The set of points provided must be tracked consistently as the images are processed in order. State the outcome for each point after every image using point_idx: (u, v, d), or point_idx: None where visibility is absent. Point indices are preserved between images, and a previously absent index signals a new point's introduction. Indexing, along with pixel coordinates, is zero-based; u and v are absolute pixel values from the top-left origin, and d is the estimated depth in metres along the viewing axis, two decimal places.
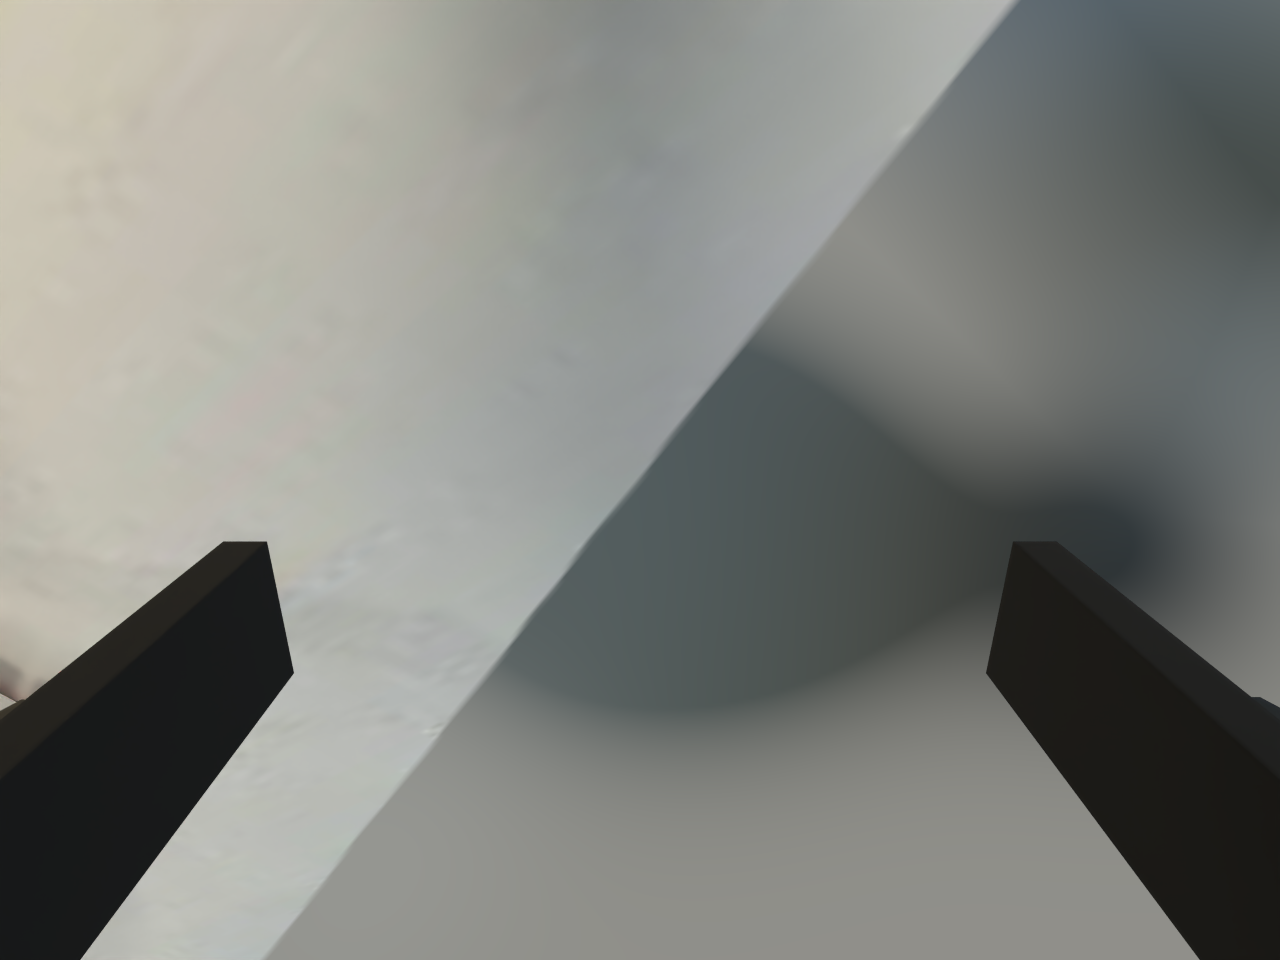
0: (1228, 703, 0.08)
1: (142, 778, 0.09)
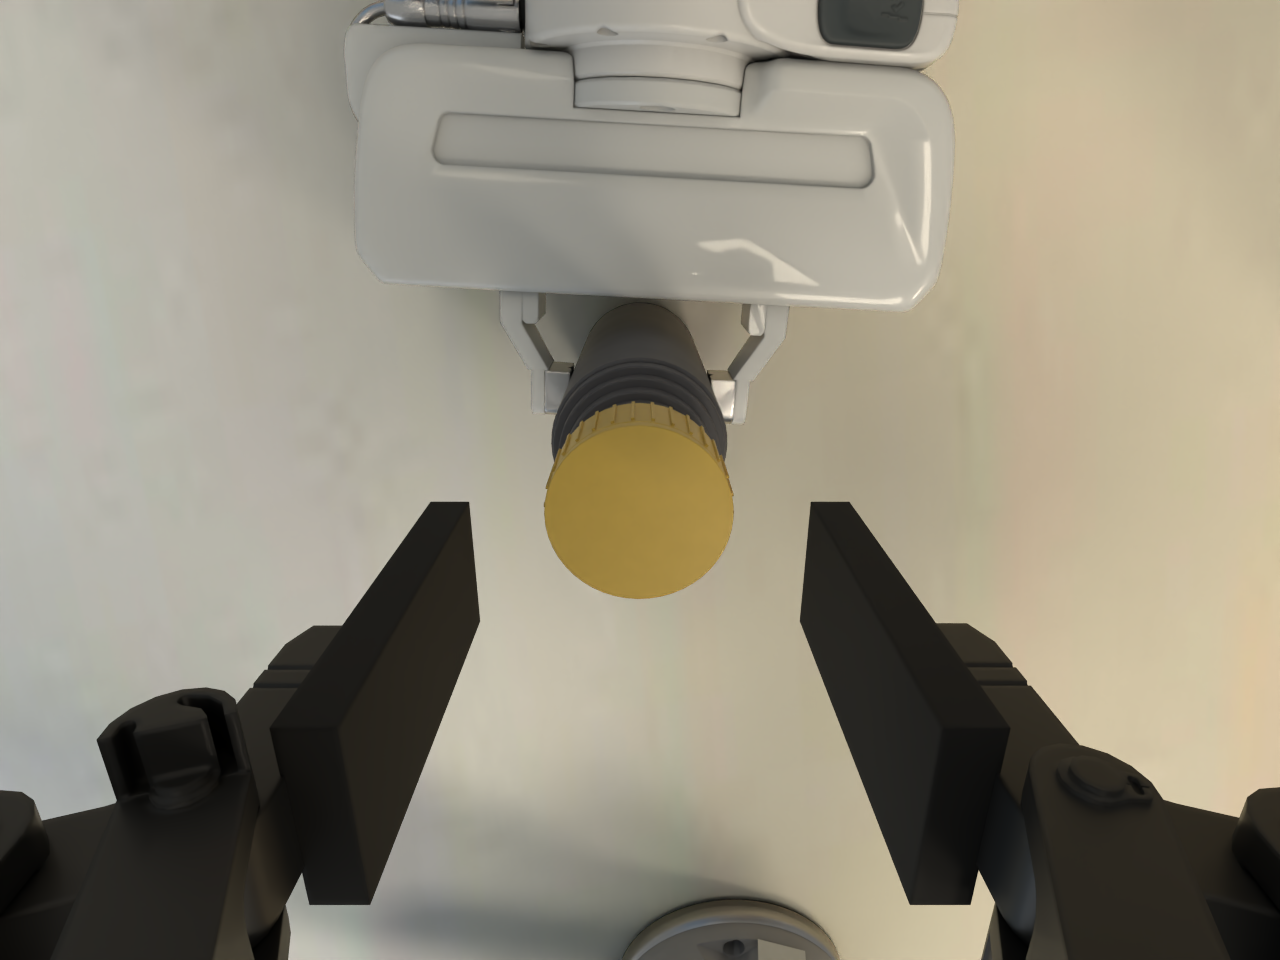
0: (907, 620, 0.10)
1: (420, 691, 0.11)
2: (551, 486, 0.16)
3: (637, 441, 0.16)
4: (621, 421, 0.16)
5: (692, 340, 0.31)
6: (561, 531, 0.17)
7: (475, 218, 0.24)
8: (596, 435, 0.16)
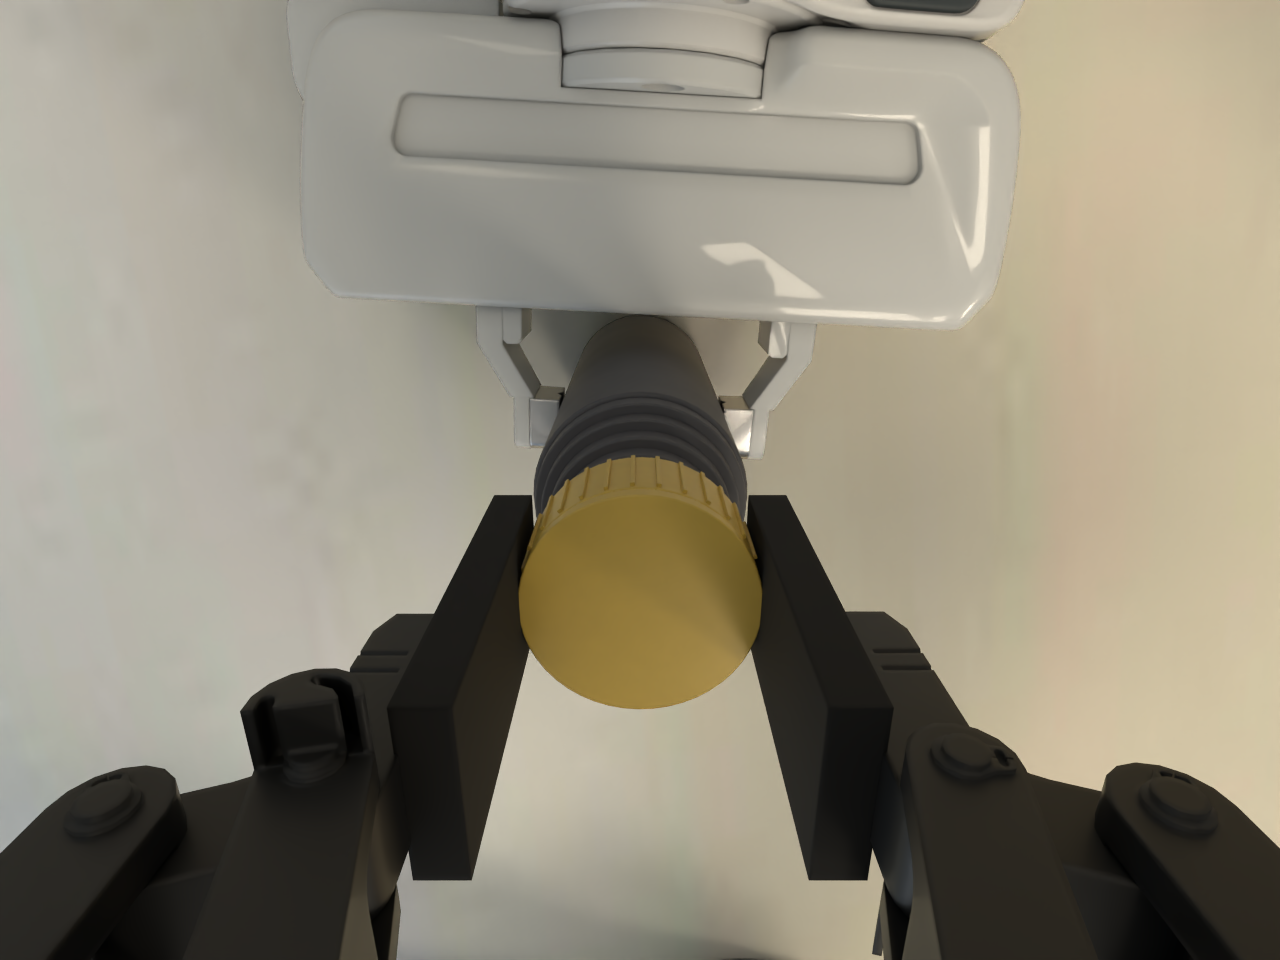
0: (817, 607, 0.10)
1: (501, 677, 0.11)
2: (526, 571, 0.13)
3: (638, 515, 0.12)
4: (617, 487, 0.12)
5: (700, 359, 0.27)
6: (540, 627, 0.13)
7: (445, 220, 0.20)
8: (584, 507, 0.12)
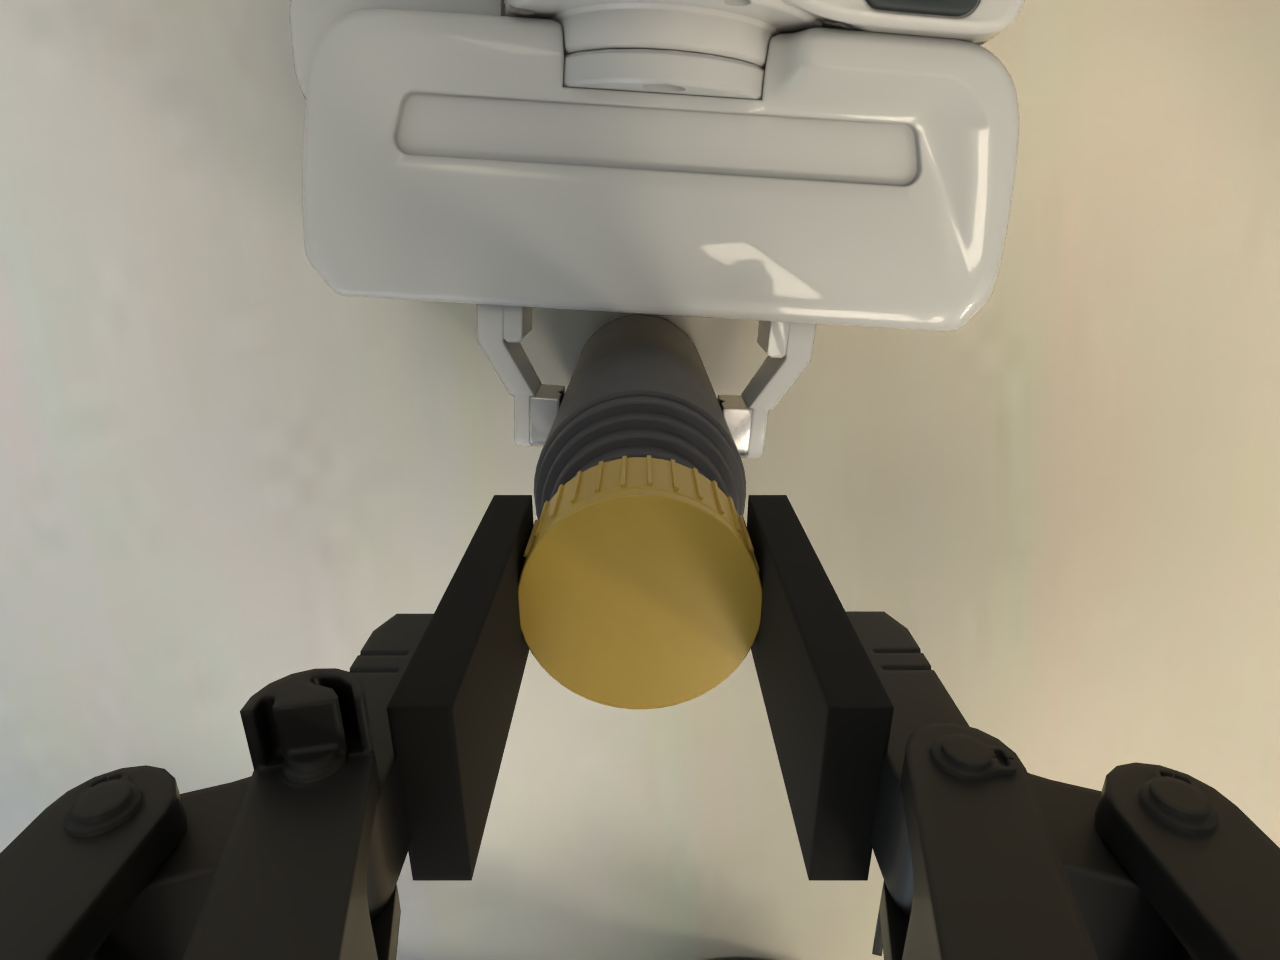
0: (818, 607, 0.10)
1: (502, 678, 0.11)
2: (666, 703, 0.14)
3: (558, 659, 0.13)
4: None
5: (700, 358, 0.27)
6: (711, 670, 0.13)
7: (446, 219, 0.20)
8: None
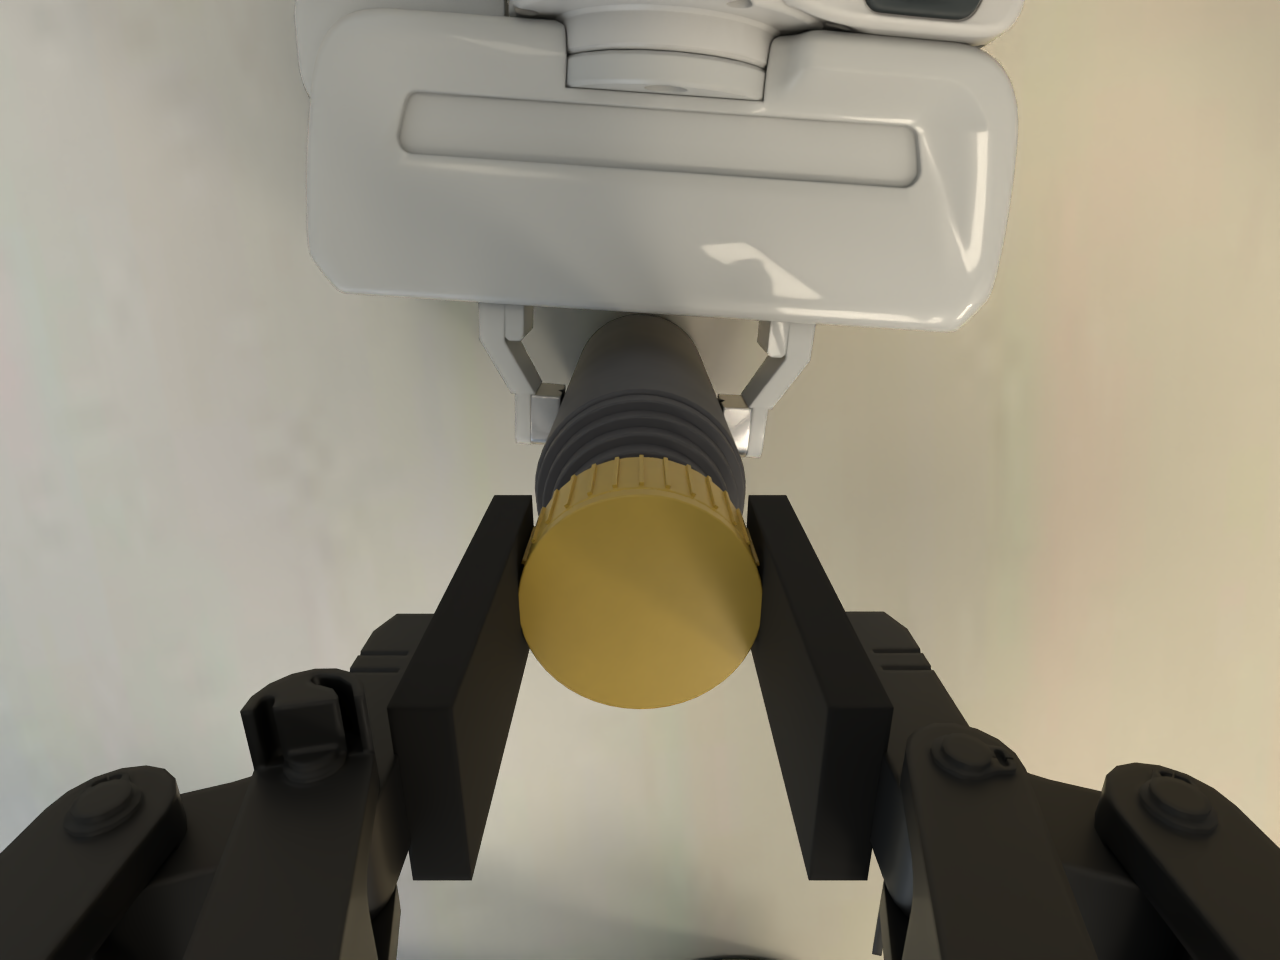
0: (817, 607, 0.10)
1: (502, 677, 0.11)
2: (724, 527, 0.12)
3: (734, 641, 0.13)
4: None
5: (700, 358, 0.27)
6: (659, 515, 0.12)
7: (449, 218, 0.20)
8: None
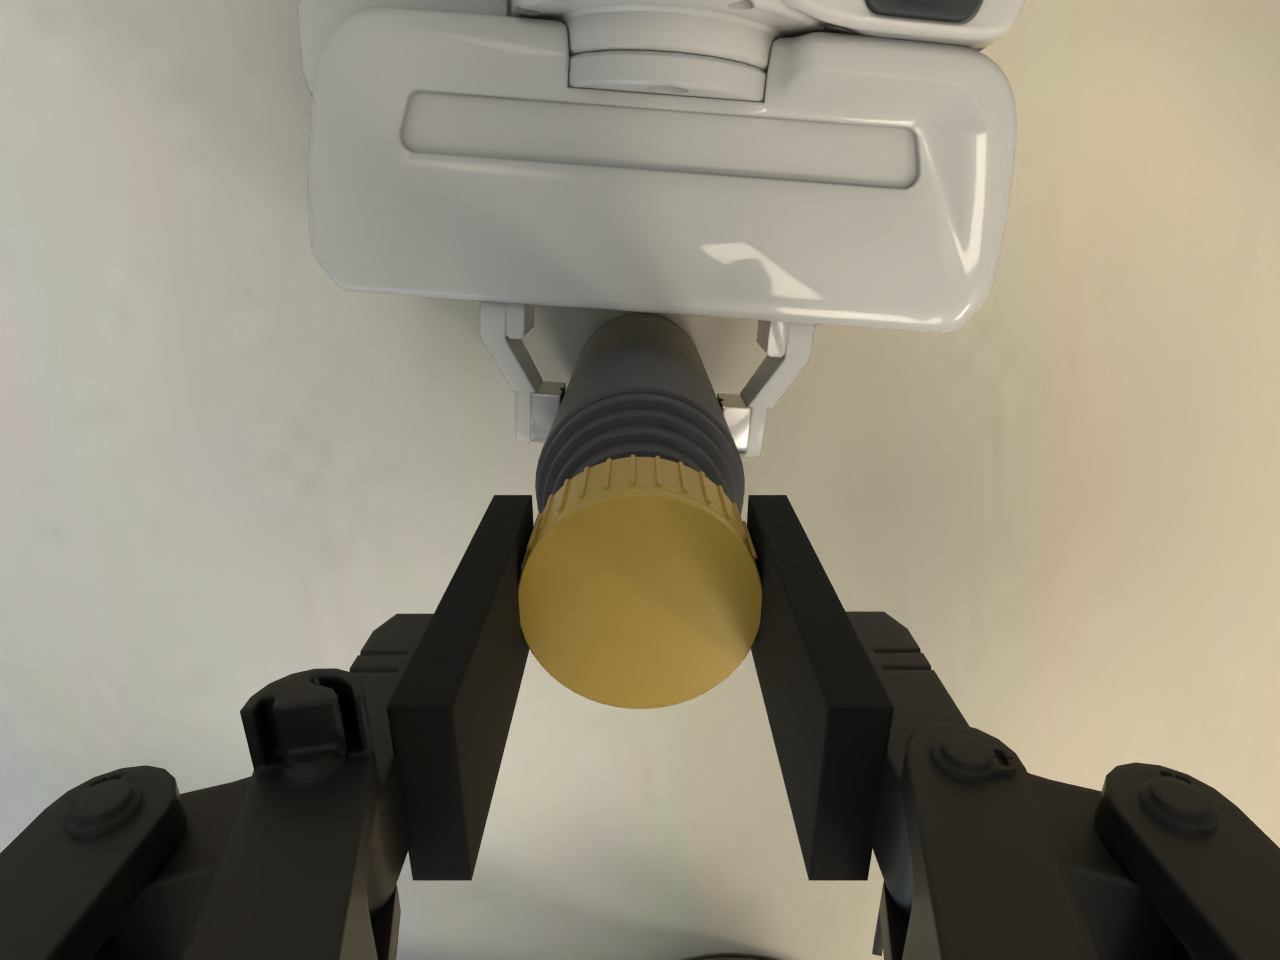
0: (818, 607, 0.10)
1: (502, 677, 0.11)
2: (521, 592, 0.13)
3: (616, 517, 0.12)
4: (592, 493, 0.12)
5: (699, 357, 0.28)
6: (547, 644, 0.13)
7: (451, 216, 0.20)
8: (562, 520, 0.12)
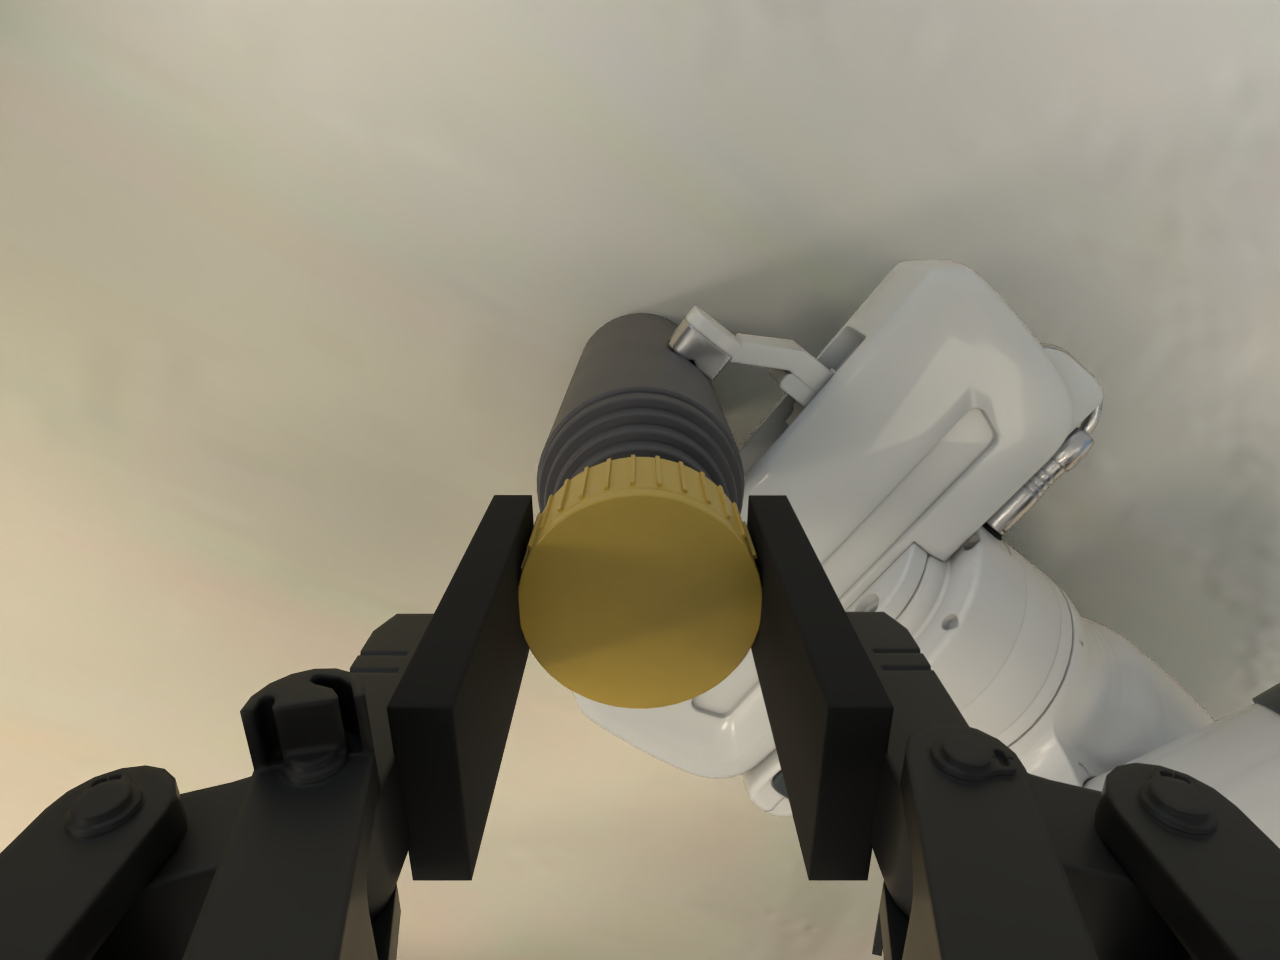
0: (818, 607, 0.10)
1: (502, 677, 0.11)
2: (521, 592, 0.13)
3: (616, 517, 0.12)
4: (592, 493, 0.12)
5: None
6: (547, 644, 0.13)
7: (907, 407, 0.22)
8: (562, 520, 0.12)
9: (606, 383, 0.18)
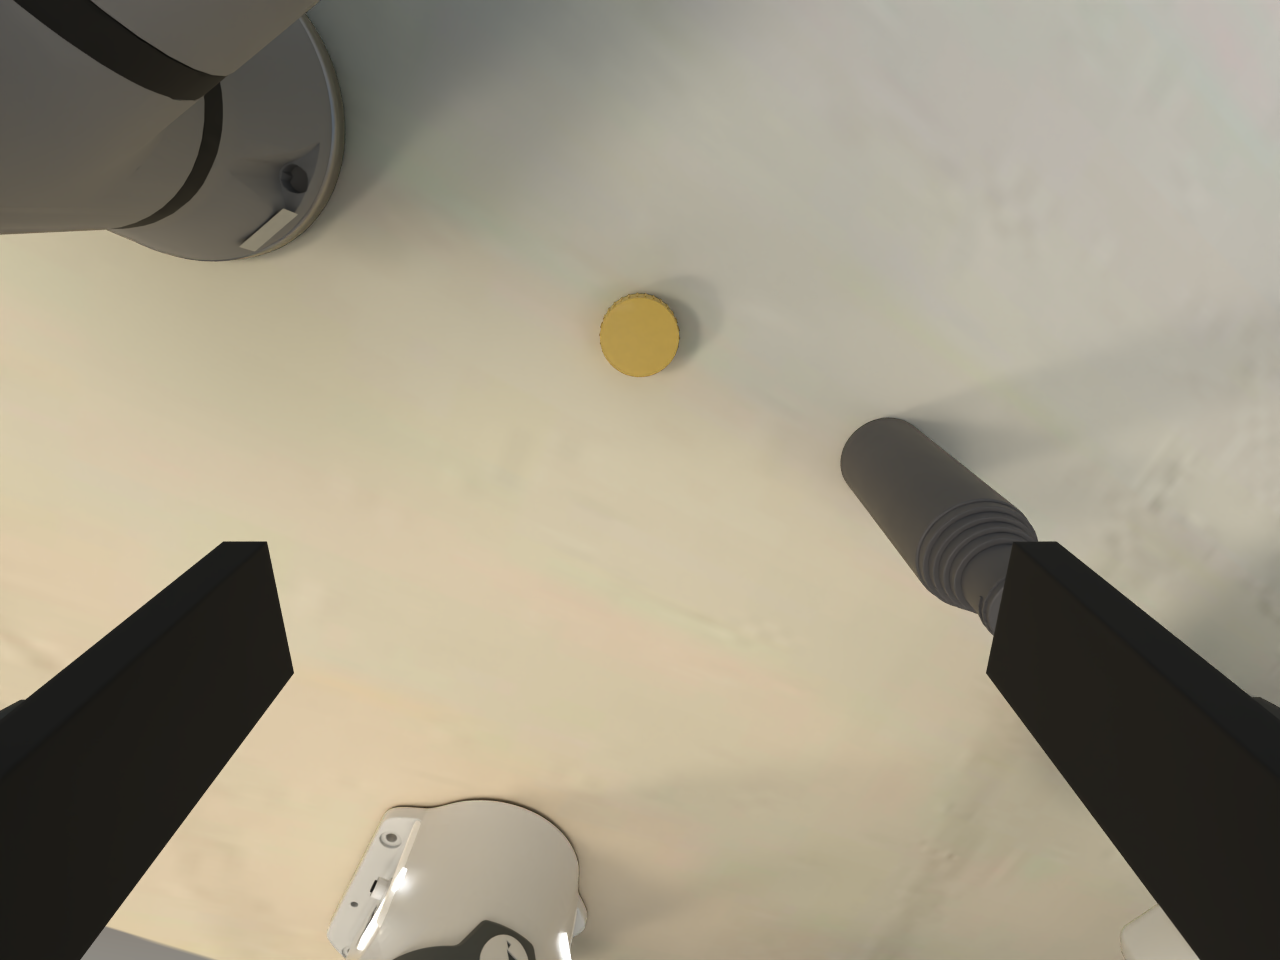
0: (1228, 703, 0.08)
1: (143, 779, 0.09)
2: (601, 332, 0.40)
3: (632, 305, 0.39)
4: (624, 299, 0.40)
5: None
6: (609, 351, 0.40)
7: None
8: (615, 306, 0.39)
9: (956, 493, 0.32)
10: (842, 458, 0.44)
